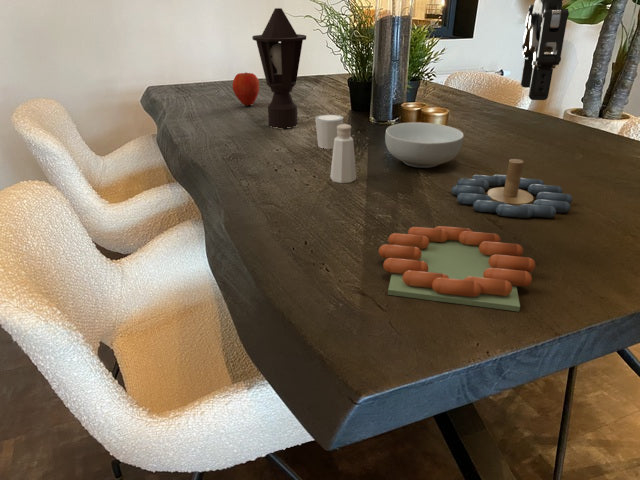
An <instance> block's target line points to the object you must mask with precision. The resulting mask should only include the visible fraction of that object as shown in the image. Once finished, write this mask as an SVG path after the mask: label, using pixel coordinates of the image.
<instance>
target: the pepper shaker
mask: <svg viewBox="0 0 640 480" xmlns="http://www.w3.org/2000/svg"><path fill="white" fill-rule="evenodd" d="M351 129H352V126H351V125H350V124H347V123H343V124H341V125H338V126H337V134H338V135H337V136H338V137H336V138H335V139H334V147H333V149H332V157H331V167H330V175H329V178H330V179H331V181H332V182H333V183H337V184H351V183H353V182H355V181H356V180H357V171H356V156H355V145H354V138H353V137H352V136H351V134H352V130H351Z"/></svg>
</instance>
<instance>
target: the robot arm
mask: <svg viewBox="0 0 640 480" xmlns="http://www.w3.org/2000/svg"><path fill="white" fill-rule="evenodd" d="M563 1H564V0H534V4H529V7H527V15H526V18H525V30H524V35H523V43H522V45H521V50H522V56H523V58H524V59H523V63H522V70H521V71H522V72H521V78H520V86H521V87H522V88H527V89H528V88H529V89H528V98H529V99H530V100H531V101H546V100H547V99H548V98H549V94H550V88H551V83H552V77H553V73H554V72H553V71H554V70H555V69H556V67H557V66H559V65H560V63H561V61H562V51H563V47H564V40H565V34H566V28H567V23H568V19H569V16H570V12H569V8H563Z"/></svg>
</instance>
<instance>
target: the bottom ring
mask: <svg viewBox="0 0 640 480" xmlns="http://www.w3.org/2000/svg"><path fill="white" fill-rule="evenodd" d="M506 176H507V174H494V175H483V174H474V175H472V177H471V178H459V179H458V180H457V181H456V184H455V185H453V186H452V188H451V191H450V192H451V194H452V195H453V196H456V201H457V202H458V204H460V205H469V206H472V208H473V210H474V211H476V212H480V213H489V214H497V215H498V216H499V217H508V218H519V219H530V218H531V217H533V218H535V217H536V218H546V219H552V218H554V217H556V214H557V213H558V214H559V213H561V214H566V213H568V212H570V210H571V203H572V202H573V196H572V195H571V194H570V193H563V188H562V187H561V186H559V185H554V184H553V185H551V184H545V182H544V180H543V179H537V178H525V177H524V178H523V177H521V179H520V184H519V189H521V190H527V192H528V193H530V194H531V195H532V196H536V197H535V199H536V200H534V201H533V203H532V205H531V204H522V205H520V206H516V205H508V204H507V203H505V202H496V201H492V199H491V197H490V196H489V195H487V194H486V191H487V190H489V188H490V187H493V188H497V187H502V186H503V187H505V182H506Z"/></svg>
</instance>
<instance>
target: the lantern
mask: <svg viewBox="0 0 640 480" xmlns="http://www.w3.org/2000/svg"><path fill="white" fill-rule="evenodd" d="M251 38H252V40H253V41H255V42H256V46H257V49H258V55H259V58H260V62H261V65H262V70H263V74H264V79H265V82H266V86H268V87H269V88H270V91H271V93H273V95H272V99H271V102H270V103H269V105H268V106H267V115H268V117H267V119H268V126H269V125H270V126H272V127H278V128H287V127H293V126H296V125H297V124H298V125H299V122H298V120H299V119H298V105H297V104H296V103H295V102H294V100H293V96H292V94H291V92H293V88H294V87H295V86H296V85H297V80H298V74H299V66H300V61H301V54H302V48H303V42H304V41H307V35H305V34H300V33H299V34H298V33H297V32H296V31H295V28H294V27H293V25H292V24H291V21H290V20H289V18H288V16H287V15H286V13H285V12H284V10H283V8H282V7H275V8H274V9H273V11H272V14H271V15H270V17H269V20H268V21H267V23H266V26H265V27H264V30H263V31H262V33H261V34H256V35H253V36H252V37H251Z"/></svg>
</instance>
